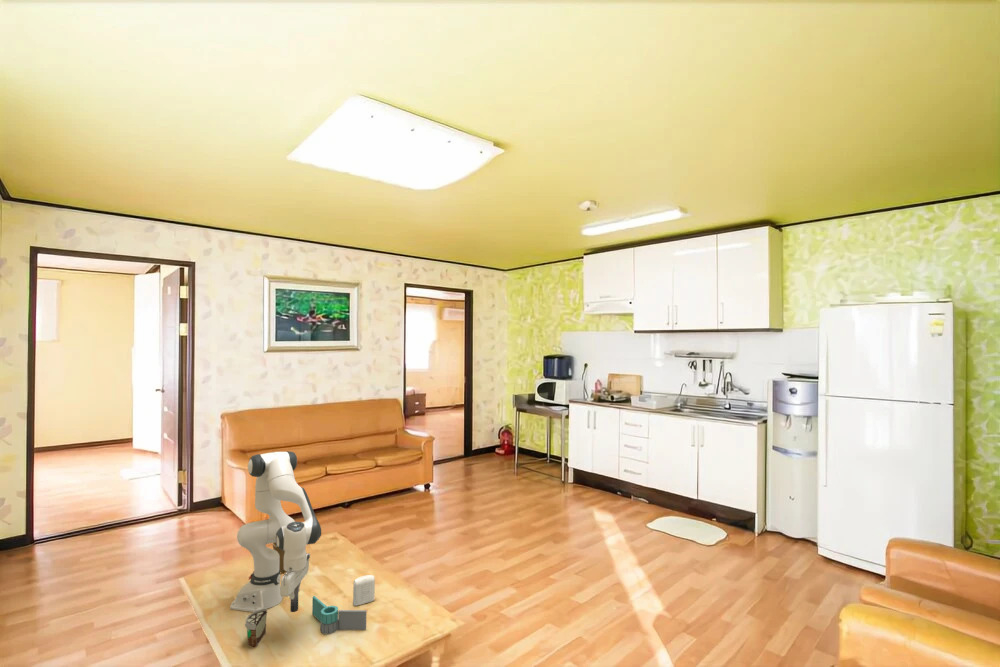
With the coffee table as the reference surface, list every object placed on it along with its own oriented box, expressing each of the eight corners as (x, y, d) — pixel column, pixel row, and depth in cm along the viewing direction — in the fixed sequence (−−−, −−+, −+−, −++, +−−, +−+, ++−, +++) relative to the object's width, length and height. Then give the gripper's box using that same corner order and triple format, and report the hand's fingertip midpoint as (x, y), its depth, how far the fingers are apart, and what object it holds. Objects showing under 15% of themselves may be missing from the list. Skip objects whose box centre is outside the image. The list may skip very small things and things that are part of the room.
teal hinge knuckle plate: (340, 628, 210) (340, 610, 210) (325, 635, 205) (325, 616, 205) (320, 610, 223) (320, 593, 223) (305, 616, 218) (306, 599, 218)
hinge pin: (288, 611, 201) (289, 583, 201) (292, 607, 204) (293, 579, 204) (295, 612, 200) (296, 583, 200) (299, 608, 203) (300, 580, 203)
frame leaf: (318, 634, 206) (318, 615, 206) (324, 624, 213) (324, 606, 213) (363, 634, 206) (363, 615, 206) (368, 624, 213) (368, 606, 213)
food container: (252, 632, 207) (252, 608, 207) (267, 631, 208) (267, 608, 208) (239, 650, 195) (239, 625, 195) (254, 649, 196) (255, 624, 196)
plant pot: (266, 571, 261) (267, 542, 262) (292, 561, 274) (292, 533, 274) (282, 579, 253) (282, 549, 253) (307, 568, 265) (307, 539, 265)
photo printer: (372, 597, 236) (373, 571, 236) (375, 601, 233) (376, 575, 233) (351, 603, 231) (352, 577, 231) (354, 607, 227) (354, 581, 227)
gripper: (291, 575, 192) (291, 609, 192) (311, 551, 212) (311, 583, 212) (276, 574, 192) (275, 609, 192) (297, 551, 212) (296, 583, 212)
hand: (294, 595), depth 202 cm, fingers closed on hinge pin, 3 cm apart
